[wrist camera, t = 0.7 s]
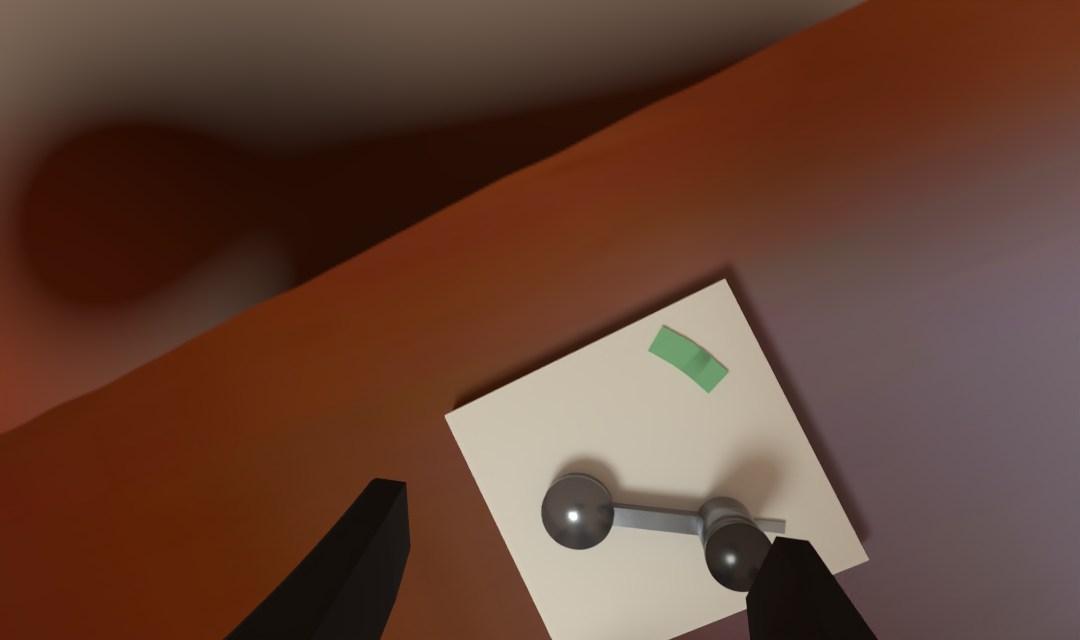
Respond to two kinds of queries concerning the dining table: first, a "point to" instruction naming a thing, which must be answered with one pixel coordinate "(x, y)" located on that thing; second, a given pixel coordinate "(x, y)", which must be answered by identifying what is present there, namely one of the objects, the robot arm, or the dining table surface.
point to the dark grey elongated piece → (658, 526)
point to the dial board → (649, 467)
